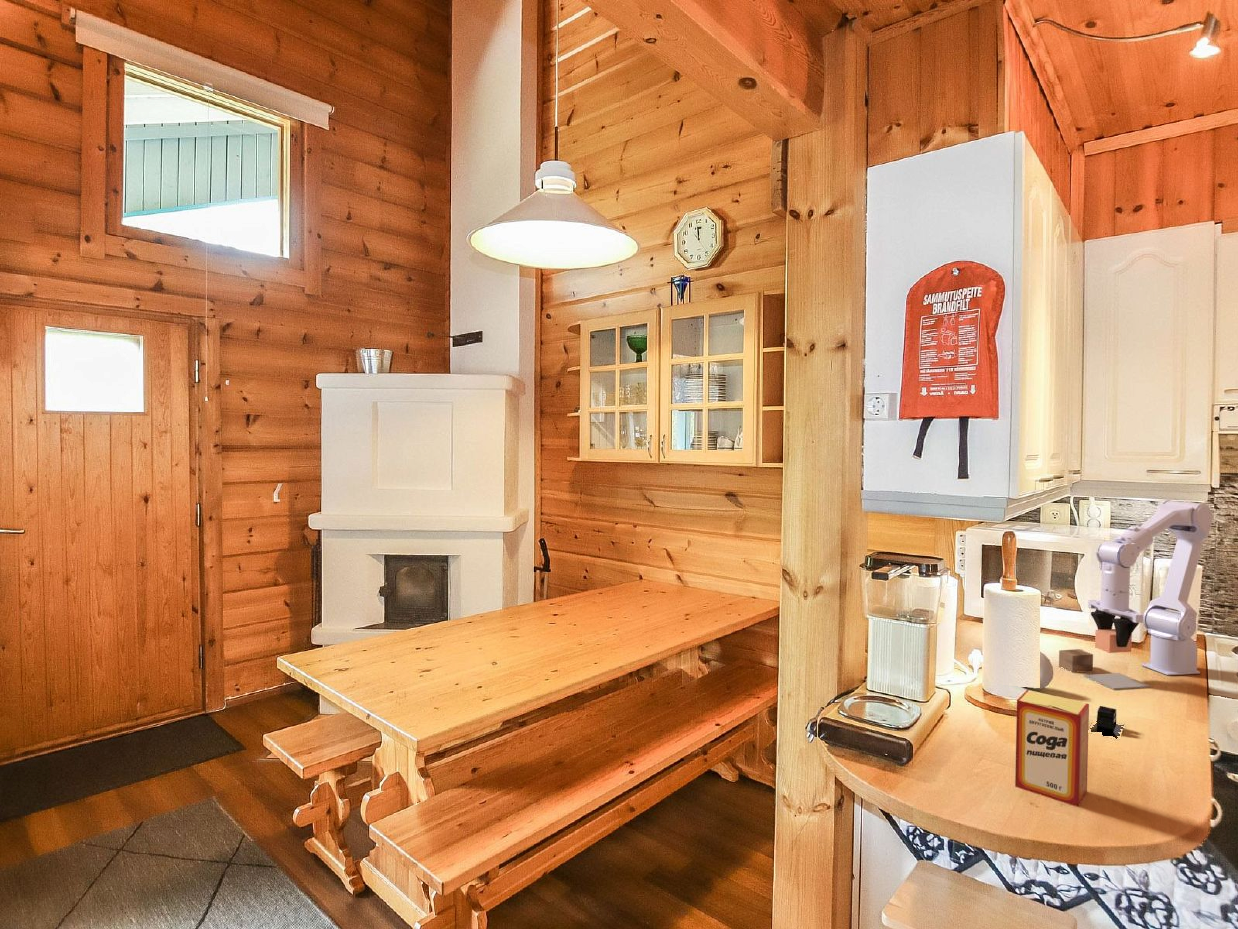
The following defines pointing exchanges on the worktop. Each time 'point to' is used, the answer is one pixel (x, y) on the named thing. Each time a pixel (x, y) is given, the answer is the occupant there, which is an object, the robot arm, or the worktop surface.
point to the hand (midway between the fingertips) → (1113, 643)
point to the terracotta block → (1110, 641)
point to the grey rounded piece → (1045, 671)
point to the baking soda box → (1052, 746)
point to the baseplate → (1117, 681)
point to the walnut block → (1076, 660)
